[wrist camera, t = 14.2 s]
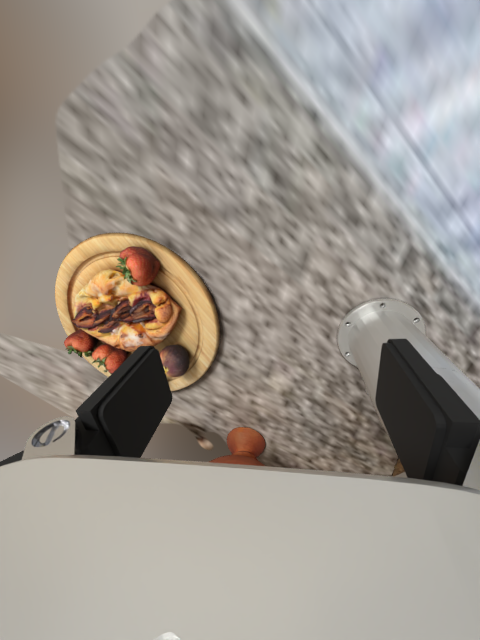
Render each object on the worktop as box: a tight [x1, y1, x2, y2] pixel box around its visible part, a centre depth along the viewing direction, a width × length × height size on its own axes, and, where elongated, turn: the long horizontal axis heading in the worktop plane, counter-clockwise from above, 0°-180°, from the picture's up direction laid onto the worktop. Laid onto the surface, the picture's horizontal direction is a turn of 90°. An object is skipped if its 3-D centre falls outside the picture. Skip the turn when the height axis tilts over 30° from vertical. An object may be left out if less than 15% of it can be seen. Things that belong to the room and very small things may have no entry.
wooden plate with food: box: [55, 233, 220, 391], centre depth 44 cm, size 32×32×8 cm
